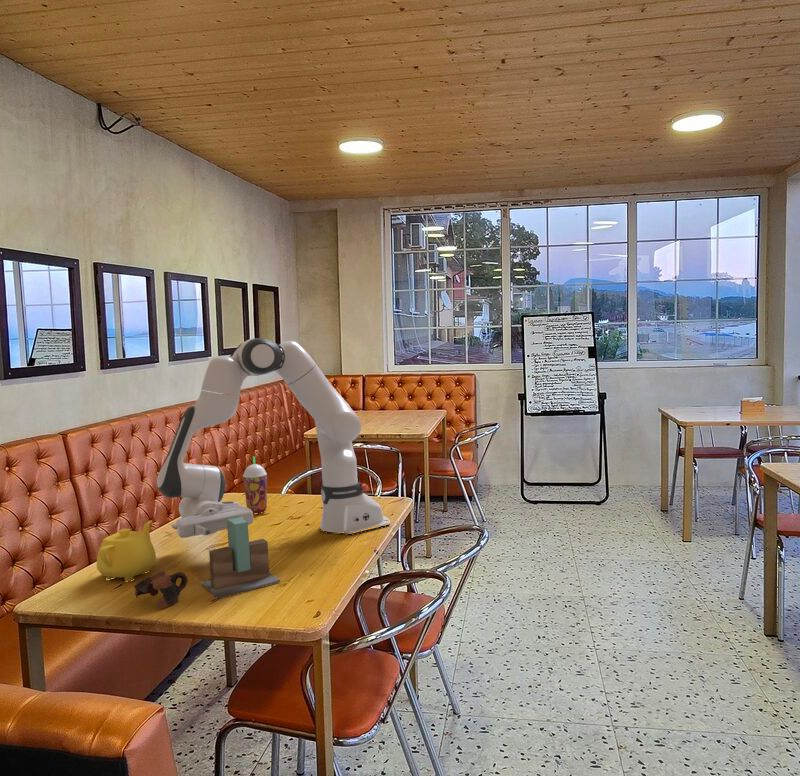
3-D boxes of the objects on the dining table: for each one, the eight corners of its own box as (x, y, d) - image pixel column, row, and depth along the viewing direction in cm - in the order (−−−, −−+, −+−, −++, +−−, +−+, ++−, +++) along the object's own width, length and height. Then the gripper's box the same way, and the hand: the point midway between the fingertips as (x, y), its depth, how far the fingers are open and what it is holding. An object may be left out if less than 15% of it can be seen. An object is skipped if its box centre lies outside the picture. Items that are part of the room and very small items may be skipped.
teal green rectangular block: (229, 565, 164) (226, 519, 163) (241, 562, 166) (239, 516, 165) (238, 572, 159) (235, 524, 158) (250, 569, 161) (247, 521, 160)
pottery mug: (148, 617, 146) (132, 584, 148) (143, 621, 154) (128, 590, 155) (197, 590, 153) (182, 558, 154) (190, 595, 161) (176, 565, 162)
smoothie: (246, 510, 234) (243, 455, 233) (270, 508, 235) (267, 453, 233) (243, 516, 226) (240, 459, 224) (268, 514, 227) (264, 458, 225)
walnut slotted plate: (201, 584, 164) (199, 547, 163) (261, 569, 172) (259, 533, 172) (217, 599, 154) (215, 559, 153) (280, 582, 163) (278, 544, 162)
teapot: (174, 562, 181) (171, 519, 180) (124, 590, 162) (120, 541, 161) (134, 559, 185) (131, 517, 184) (80, 586, 165) (76, 539, 164)
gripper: (168, 513, 175) (183, 524, 164) (241, 500, 187) (260, 509, 176) (170, 536, 176) (185, 548, 165) (242, 521, 187) (261, 532, 176)
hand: (224, 528), depth 170 cm, fingers open, 8 cm apart
